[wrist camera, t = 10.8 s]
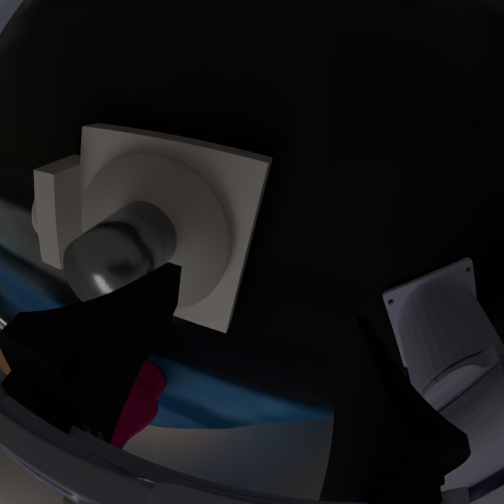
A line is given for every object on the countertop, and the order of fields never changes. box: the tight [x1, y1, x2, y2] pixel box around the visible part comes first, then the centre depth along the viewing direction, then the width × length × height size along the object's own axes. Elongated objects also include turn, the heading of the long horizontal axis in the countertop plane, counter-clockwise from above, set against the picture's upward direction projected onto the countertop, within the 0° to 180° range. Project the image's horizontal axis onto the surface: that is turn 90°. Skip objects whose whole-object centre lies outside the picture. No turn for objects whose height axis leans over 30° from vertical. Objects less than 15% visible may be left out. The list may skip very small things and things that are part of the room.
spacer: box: [63, 201, 177, 302], centre depth 18 cm, size 5×5×6 cm
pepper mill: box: [63, 360, 166, 504], centre depth 25 cm, size 7×7×20 cm
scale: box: [32, 123, 273, 333], centre depth 21 cm, size 17×14×5 cm
